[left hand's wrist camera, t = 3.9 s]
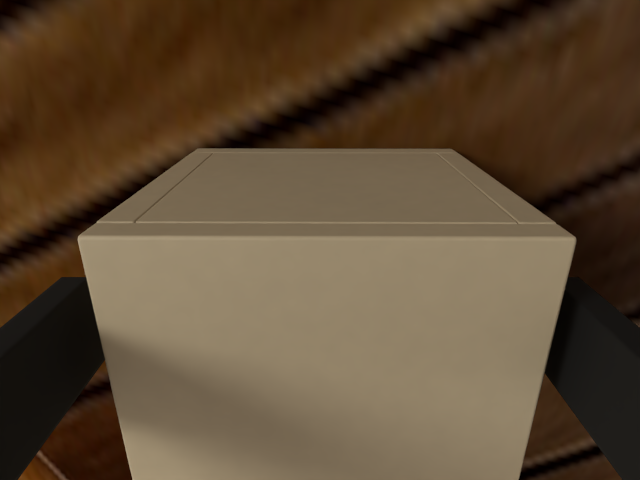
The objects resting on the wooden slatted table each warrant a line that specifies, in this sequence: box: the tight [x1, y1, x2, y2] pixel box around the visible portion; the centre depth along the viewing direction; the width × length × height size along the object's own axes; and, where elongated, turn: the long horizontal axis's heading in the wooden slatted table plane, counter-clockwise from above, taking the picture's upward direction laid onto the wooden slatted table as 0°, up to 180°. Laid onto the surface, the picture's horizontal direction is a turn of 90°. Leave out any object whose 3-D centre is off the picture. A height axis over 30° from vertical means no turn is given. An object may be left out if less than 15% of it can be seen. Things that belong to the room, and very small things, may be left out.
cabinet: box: [78, 149, 576, 480], centre depth 18 cm, size 17×11×10 cm, turn 0°
